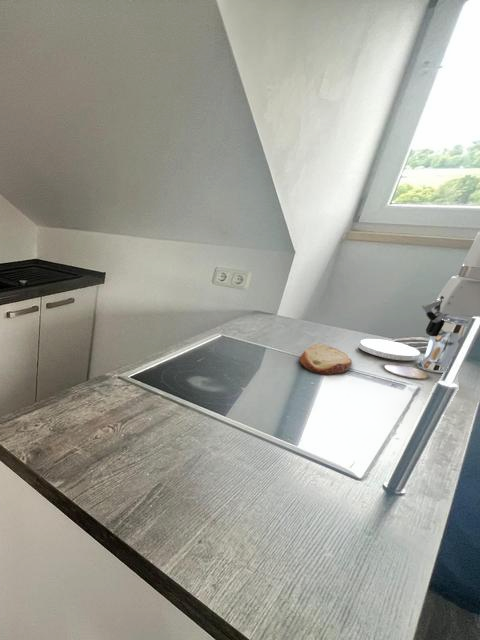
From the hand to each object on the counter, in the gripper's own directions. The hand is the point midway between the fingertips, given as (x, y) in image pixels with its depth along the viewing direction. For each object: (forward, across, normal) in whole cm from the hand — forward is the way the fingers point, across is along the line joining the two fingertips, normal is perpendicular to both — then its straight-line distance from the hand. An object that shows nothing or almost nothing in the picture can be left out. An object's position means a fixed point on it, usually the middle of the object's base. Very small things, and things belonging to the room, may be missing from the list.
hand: (448, 336), depth 109 cm
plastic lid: (+10, +8, -8) cm, 15 cm away
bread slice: (+10, +28, +7) cm, 31 cm away
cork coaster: (+10, +8, +6) cm, 14 cm away
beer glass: (+10, 0, 0) cm, 10 cm away
